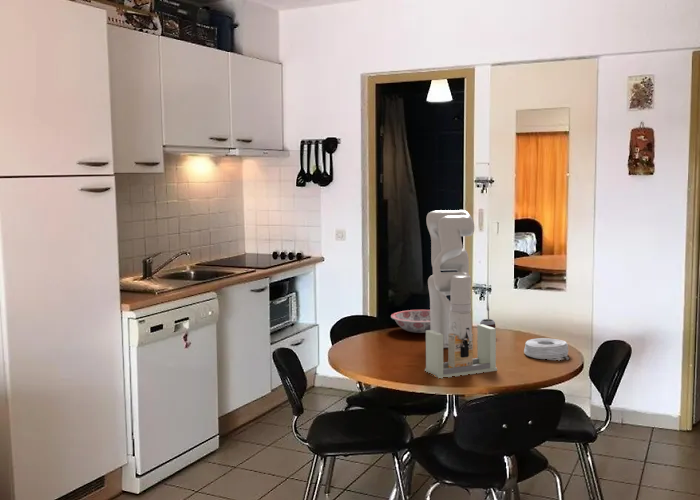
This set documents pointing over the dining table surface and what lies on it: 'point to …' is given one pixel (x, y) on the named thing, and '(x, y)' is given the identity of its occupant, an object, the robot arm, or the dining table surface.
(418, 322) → the ceramic bowl
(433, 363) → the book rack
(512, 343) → the dining table surface
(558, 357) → the cable
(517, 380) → the dining table surface
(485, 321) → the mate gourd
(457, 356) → the supplement box
